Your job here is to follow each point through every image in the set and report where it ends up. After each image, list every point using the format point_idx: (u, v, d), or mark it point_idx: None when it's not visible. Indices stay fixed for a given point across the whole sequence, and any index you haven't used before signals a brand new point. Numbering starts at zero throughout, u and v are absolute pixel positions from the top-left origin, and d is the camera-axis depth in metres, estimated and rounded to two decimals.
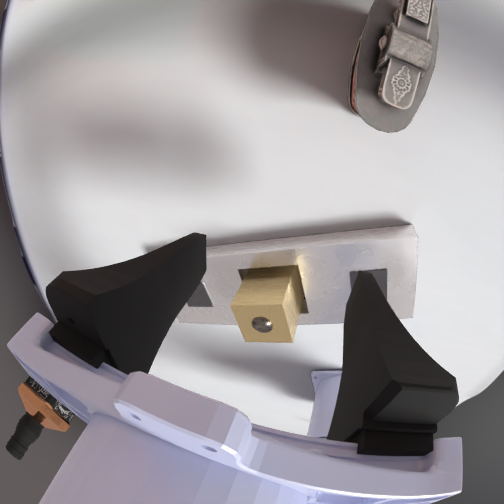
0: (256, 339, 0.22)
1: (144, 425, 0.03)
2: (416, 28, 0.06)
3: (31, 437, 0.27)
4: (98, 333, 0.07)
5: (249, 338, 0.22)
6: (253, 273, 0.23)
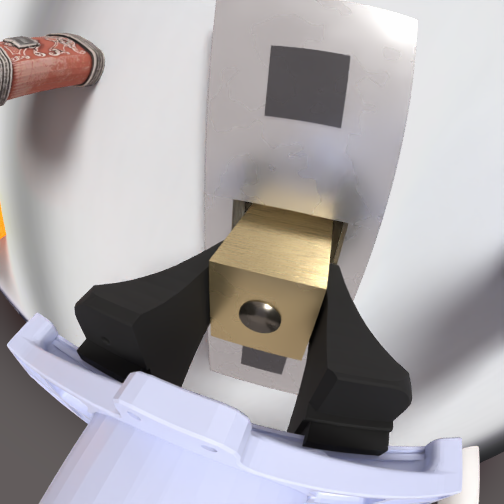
0: (299, 343, 0.10)
1: (144, 425, 0.03)
2: None
3: None
4: (141, 354, 0.06)
5: (293, 351, 0.11)
6: None
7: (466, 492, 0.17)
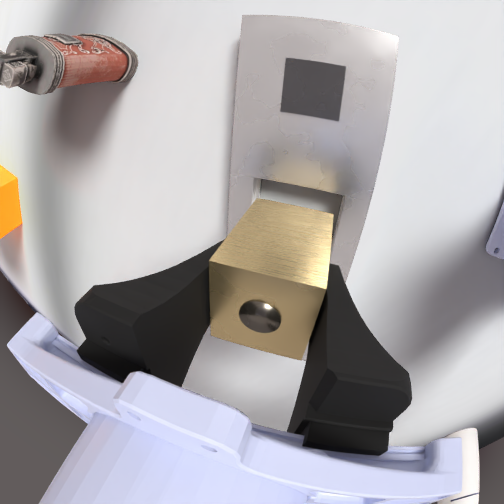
0: (299, 343, 0.10)
1: (144, 425, 0.03)
2: None
3: None
4: (141, 354, 0.06)
5: (293, 350, 0.11)
6: None
7: (466, 473, 0.20)
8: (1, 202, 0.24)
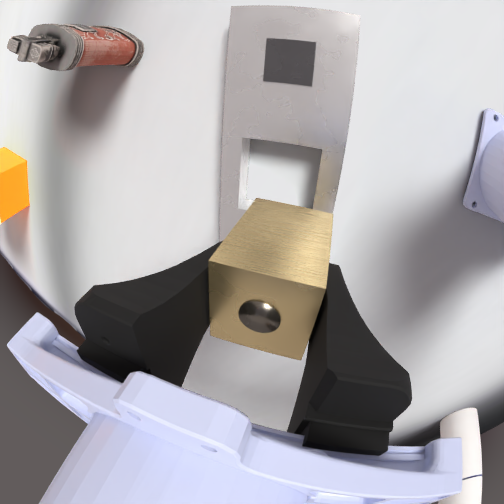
0: (298, 343, 0.10)
1: (144, 425, 0.03)
2: (21, 46, 0.09)
3: None
4: (141, 354, 0.06)
5: (293, 350, 0.11)
6: None
7: (468, 453, 0.21)
8: (11, 183, 0.26)
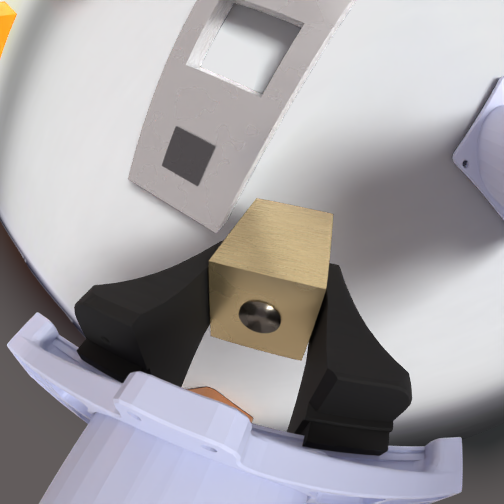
0: (299, 343, 0.10)
1: (144, 425, 0.03)
2: None
3: None
4: (141, 354, 0.06)
5: (293, 351, 0.11)
6: None
7: None
8: None
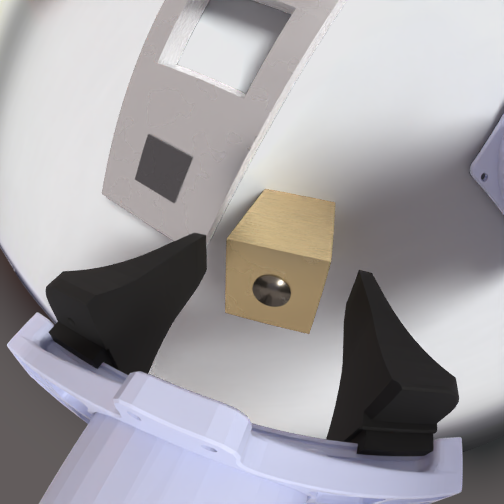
0: (307, 315, 0.12)
1: (144, 425, 0.03)
2: None
3: None
4: (98, 333, 0.07)
5: (302, 324, 0.12)
6: None
7: None
8: None
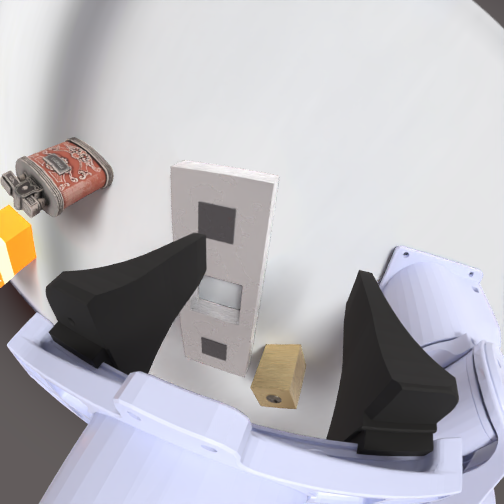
0: (291, 404, 0.25)
1: (144, 425, 0.03)
2: (13, 192, 0.16)
3: None
4: (98, 333, 0.07)
5: (291, 406, 0.25)
6: None
7: None
8: (19, 244, 0.33)
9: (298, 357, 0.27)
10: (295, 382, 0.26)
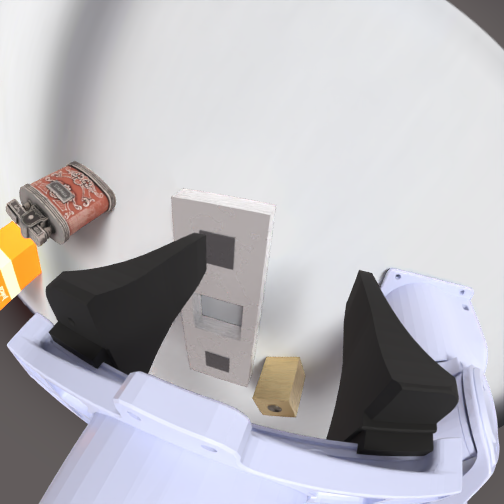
0: (291, 413, 0.26)
1: (144, 425, 0.03)
2: (19, 221, 0.18)
3: None
4: (98, 333, 0.07)
5: (291, 415, 0.27)
6: None
7: None
8: (25, 261, 0.35)
9: (297, 369, 0.29)
10: (294, 393, 0.27)
